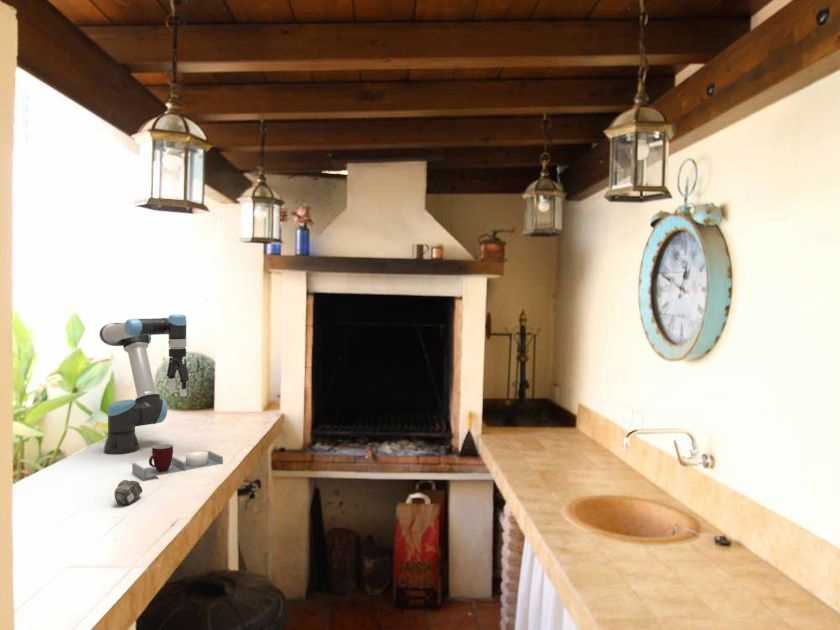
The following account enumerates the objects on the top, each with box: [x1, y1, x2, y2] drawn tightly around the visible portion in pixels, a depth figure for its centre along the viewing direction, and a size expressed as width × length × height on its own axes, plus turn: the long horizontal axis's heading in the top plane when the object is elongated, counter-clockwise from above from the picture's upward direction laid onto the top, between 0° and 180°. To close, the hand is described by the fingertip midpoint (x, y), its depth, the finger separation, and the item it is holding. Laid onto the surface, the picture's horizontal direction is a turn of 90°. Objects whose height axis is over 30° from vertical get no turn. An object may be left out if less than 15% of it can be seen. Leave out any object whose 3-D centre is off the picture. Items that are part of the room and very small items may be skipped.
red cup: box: [148, 443, 174, 472], centre depth 256 cm, size 11×8×10 cm
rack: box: [131, 450, 224, 482], centre depth 263 cm, size 14×33×4 cm, turn 132°
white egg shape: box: [185, 449, 209, 466], centre depth 268 cm, size 9×9×5 cm
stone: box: [113, 479, 143, 506], centre depth 223 cm, size 14×7×10 cm, turn 15°
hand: (177, 394), depth 284 cm, fingers open, 13 cm apart
